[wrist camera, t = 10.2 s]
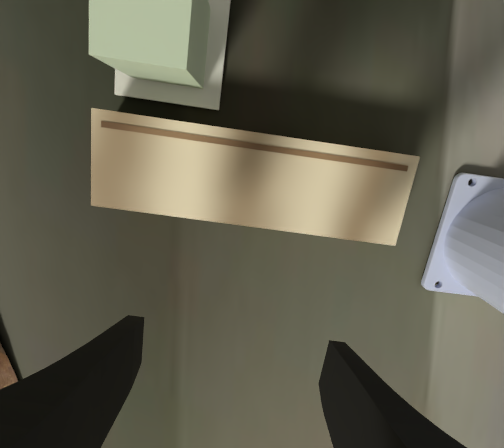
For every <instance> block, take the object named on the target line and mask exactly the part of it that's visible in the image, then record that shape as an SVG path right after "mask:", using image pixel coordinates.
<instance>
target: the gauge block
mask: <svg viewBox="0 0 504 448" xmlns="http://www.w3.org/2000/svg"><path fill="white" fill-rule="evenodd" d="M210 12H211V9H210V5H209V2H208V0H89V55H91V56H93V57H95V58H97V59H99V60H100V61H102V62H104V63H106V64H108V65H110V66H112V67H113V68H115V69H117V70H119V71H121V72H123V73H125V74H127V75H128V76H130V77H132V78H137V79H143V80H150V81H156V82H162V83H169V84H175V85H182V86H188V87H194V88H201V89H203V86H204V76H205V65H206V54H207V44H208V33H209V23H210Z"/></svg>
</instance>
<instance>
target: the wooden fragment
mask: <svg viewBox="0 0 504 448" xmlns="http://www.w3.org/2000/svg"><path fill="white" fill-rule="evenodd" d="M16 382H18V380H17V378H16V375H15V372H14V370H13V369H12V366H11V364H10V362H9V359H8V357H7V355H6V353H5V351H4V350H3V348H2V345H1V343H0V389H2V388H4V387H6V386H9V385H11V384H13V383H16Z"/></svg>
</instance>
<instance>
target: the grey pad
mask: <svg viewBox="0 0 504 448" xmlns="http://www.w3.org/2000/svg"><path fill="white" fill-rule="evenodd" d="M208 2H209V5H210V9H211V12H210V23H209V33H208V44H207V54H206V65H205V76H204V86H203V89H201V88H194V87H188V86H182V85H175V84H169V83H162V82H156V81H150V80H143V79H137V78H132V77H130V76H128V75H127V74H125V73H123V72H121V71H119V70H117V69H115V95H120V96H127V97H133V98H140V99H147V100H153V101H160V102H166V103H173V104H180V105H186V106H193V107H200V108H206V109H213V110H219V106H220V97H221V87H222V78H223V69H224V59H225V50H226V40H227V31H228V22H229V12H230V3H231V0H208Z"/></svg>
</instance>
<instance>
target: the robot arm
mask: <svg viewBox="0 0 504 448" xmlns="http://www.w3.org/2000/svg"><path fill="white" fill-rule="evenodd" d="M470 179H472V183H471V184H470V185H468V182H469V180H470ZM438 281H439V283H438V285H436V286H435V283H436V282H438ZM421 284H422V286H423V287H424V288H425V289H427V290H431V291H439V292H447V293H455V294H463V295H471V296H478V297H480V298H481V299H483V300H484V301H486V302H487V303H489V304H490V305H492V306H493V307H495V308H496V309H497V310H499V311H500V312H502V313H503V314H504V179H503V178H497V177H490V176H483V175H476V174H469V173H459V174H457V175H456V176H455V177H454V179H453V182H452V185H451V188H450V192H449V195H448V198H447V201H446V204H445V208H444V211H443V214H442V217H441V220H440V223H439V227H438V230H437V233H436V236H435V239H434V243H433V246H432V249H431V252H430V255H429V259H428V262H427V265H426V268H425V271H424V274H423V278H422V281H421ZM143 329H144V317H138V316H130V315H128V316H126V317H125V318H123V319H122V320H120V321H119V322H118V323H116V324H115V325H113V326H112V327H110V328H109V329H107V330H106V331H105V332H103V333H102V334H100V335H99V336H97V337H96V338H94V339H93V340H91V341H90V342H88V343H87V344H85V345H84V346H82V347H80V348H79V349H77V350H75V351H74V352H72V353H70V354H69V355H67V356H66V357H64V358H62V359H61V360H59V361H57V362H55V363H54V364H52V365H50V366H48V367H46V368H44V369H42V370H40V371H38V372H36V373H34V374H32V375H30V376H28V377H26V378H24V379H22V380H20V381H18V382H16V383H13V384H11V385H9V386H6V387H4V388H2V389H0V448H101V446H102V444H103V442H104V440H105V438H106V436H107V434H108V433H109V431H110V429H111V427H112V425H113V423H114V421H115V419H116V417H117V415H118V414H119V412H120V410H121V408H122V406H123V404H124V402H125V400H126V398H127V396H128V394H129V392H130V390H131V388H132V386H133V383H134V381H135V378H136V376H137V373H138V370H139V368H140V365H141V361H142V345H143ZM319 389H320V396H321V402H322V408H323V412H324V416H325V419H326V423H327V426H328V430H329V433H330V437H331V440H332V444H333V447H334V448H466V447H465V446H464V445H462V444H461V443H459V442H458V441H456V440H455V439H453V438H452V437H451V436H449V435H448V434H446V433H445V432H444V431H442V430H441V429H440V428H438V427H437V426H436V425H434V424H433V423H432V422H431V421H429V420H428V419H427V418H425V417H424V416H423V415H422V414H420V413H419V412H418V411H417V410H415V409H414V408H413V407H412V406H411V405H409V404H408V403H407V402H406V401H405V400H404V399H403V398H402V397H400V396H399V395H398V394H397V393H396V392H395V391H394V390H393V389H392V388H391V387H389V386H388V385H387V384H386V383H385V382H384V381H383V380H382V379H381V378H380V377H379V376H378V375H377V374H376V373H375V372H374V371H373V370H372V369H371V368H370V367H369V366H368V365H367V364H366V363H365V362H364V361H363V360H362V359H361V358H360V357H359V356H358V355H357V354H356V353H355V352H354V351H353V350H352V349H351V348H350V347H349V346H348V345H347V344H346V343H345V342H338V341H330V340H329V344H328V348H327V352H326V356H325V360H324V364H323V368H322V372H321V376H320V380H319Z"/></svg>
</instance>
